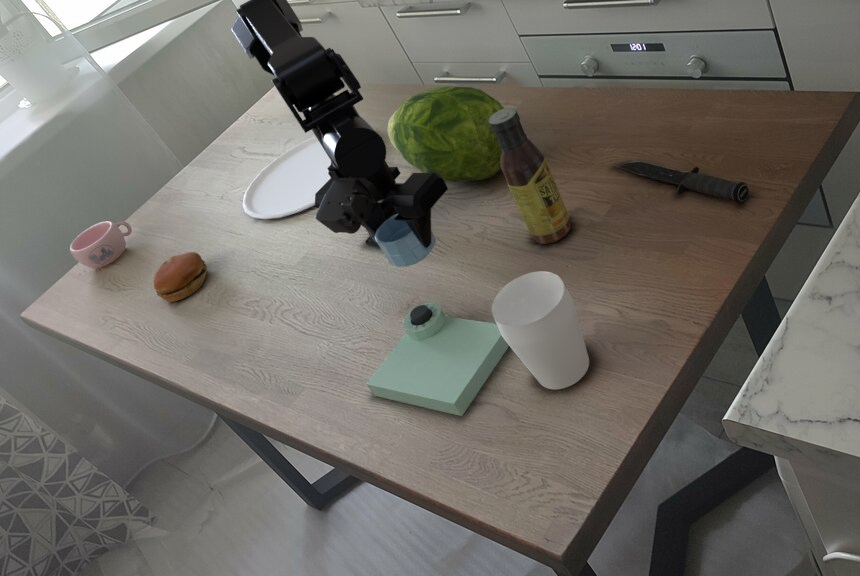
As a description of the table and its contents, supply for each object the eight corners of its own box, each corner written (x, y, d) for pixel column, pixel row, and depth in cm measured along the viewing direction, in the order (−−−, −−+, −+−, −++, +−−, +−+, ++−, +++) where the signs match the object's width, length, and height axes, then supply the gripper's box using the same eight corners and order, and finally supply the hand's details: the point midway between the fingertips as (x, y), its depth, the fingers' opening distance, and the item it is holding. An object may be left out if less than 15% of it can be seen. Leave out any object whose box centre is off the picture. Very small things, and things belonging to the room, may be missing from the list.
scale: (373, 395, 110) (358, 375, 108) (430, 320, 118) (418, 300, 115) (462, 416, 102) (448, 395, 99) (517, 333, 109) (505, 312, 107)
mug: (93, 280, 167) (72, 258, 164) (83, 265, 174) (63, 243, 171) (146, 244, 171) (127, 222, 167) (134, 230, 178) (116, 208, 175)
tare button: (410, 324, 113) (405, 317, 112) (421, 310, 114) (416, 303, 113) (424, 326, 111) (420, 319, 110) (435, 312, 113) (431, 305, 112)
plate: (401, 153, 160) (398, 148, 159) (269, 241, 153) (265, 236, 152) (346, 118, 182) (344, 113, 181) (229, 193, 175) (226, 188, 174)
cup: (525, 354, 106) (488, 285, 98) (594, 332, 104) (561, 260, 97) (530, 407, 99) (491, 337, 91) (604, 384, 97) (569, 311, 90)
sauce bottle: (569, 242, 120) (517, 125, 108) (529, 249, 122) (474, 135, 110) (576, 213, 124) (528, 98, 112) (537, 220, 127) (486, 108, 115)
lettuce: (438, 139, 159) (401, 67, 149) (544, 150, 141) (509, 69, 132) (386, 189, 152) (344, 116, 142) (490, 206, 134) (450, 125, 125)
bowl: (381, 268, 113) (365, 242, 110) (410, 234, 116) (395, 209, 114) (418, 271, 109) (402, 245, 106) (446, 236, 113) (432, 210, 110)
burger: (181, 306, 146) (165, 287, 144) (153, 300, 152) (137, 281, 149) (221, 268, 152) (206, 248, 149) (193, 263, 157) (178, 244, 154)
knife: (754, 187, 112) (743, 179, 111) (737, 219, 113) (726, 212, 111) (634, 145, 130) (623, 138, 129) (620, 173, 131) (609, 166, 129)
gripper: (259, 188, 103) (324, 281, 113) (365, 189, 92) (427, 291, 102) (315, 134, 110) (372, 227, 119) (420, 129, 99) (474, 231, 108)
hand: (408, 244), depth 112 cm, fingers closed on bowl, 7 cm apart
